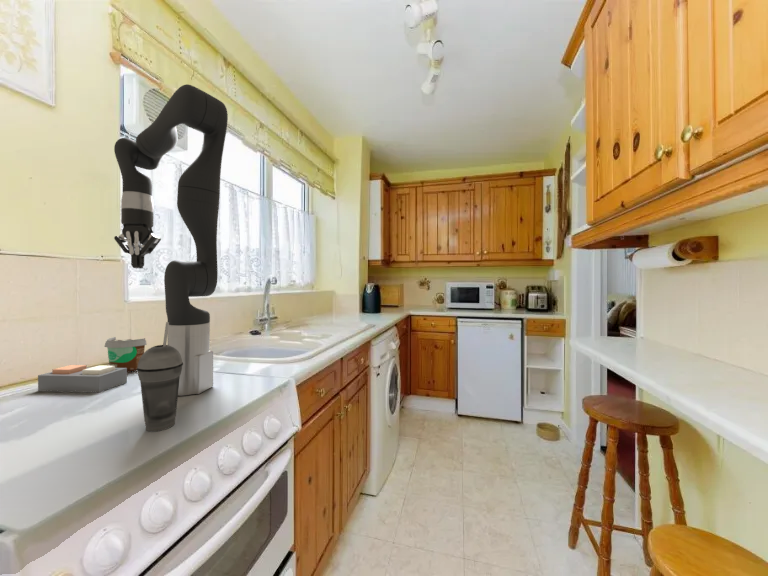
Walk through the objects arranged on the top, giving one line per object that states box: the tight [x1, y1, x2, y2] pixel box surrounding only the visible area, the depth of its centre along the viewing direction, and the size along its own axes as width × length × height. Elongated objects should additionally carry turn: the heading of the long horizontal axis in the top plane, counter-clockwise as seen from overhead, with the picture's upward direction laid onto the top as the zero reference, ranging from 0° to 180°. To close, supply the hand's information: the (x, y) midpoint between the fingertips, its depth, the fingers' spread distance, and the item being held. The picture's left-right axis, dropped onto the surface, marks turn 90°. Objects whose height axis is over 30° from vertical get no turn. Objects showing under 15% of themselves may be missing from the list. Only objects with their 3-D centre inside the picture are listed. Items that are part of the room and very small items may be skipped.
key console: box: [37, 366, 128, 393], centre depth 82 cm, size 16×8×4 cm, turn 88°
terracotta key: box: [51, 364, 88, 374], centre depth 82 cm, size 4×4×4 cm
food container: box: [104, 336, 148, 373], centre depth 97 cm, size 12×6×10 cm, turn 81°
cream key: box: [82, 365, 115, 375], centre depth 82 cm, size 4×4×4 cm
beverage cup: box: [136, 321, 183, 432], centre depth 60 cm, size 7×7×20 cm
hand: (137, 268), depth 92 cm, fingers closed
